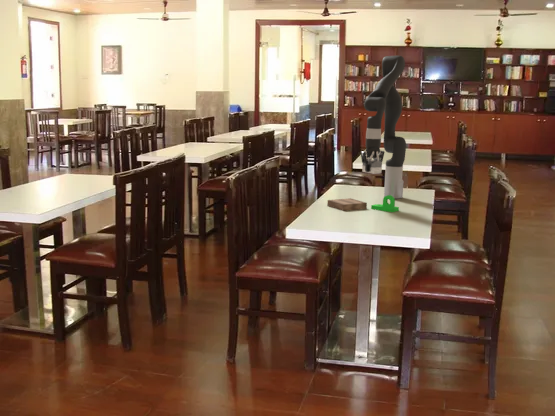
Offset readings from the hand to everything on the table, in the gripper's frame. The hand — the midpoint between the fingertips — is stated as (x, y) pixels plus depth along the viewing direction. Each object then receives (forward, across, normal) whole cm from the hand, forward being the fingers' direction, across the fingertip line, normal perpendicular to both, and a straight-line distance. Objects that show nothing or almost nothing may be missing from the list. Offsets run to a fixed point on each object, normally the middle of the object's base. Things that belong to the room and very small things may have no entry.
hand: (371, 171), depth 317 cm
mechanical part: (+18, +1, +12) cm, 22 cm away
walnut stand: (+17, +14, -1) cm, 22 cm away
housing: (+1, 0, 0) cm, 1 cm away
